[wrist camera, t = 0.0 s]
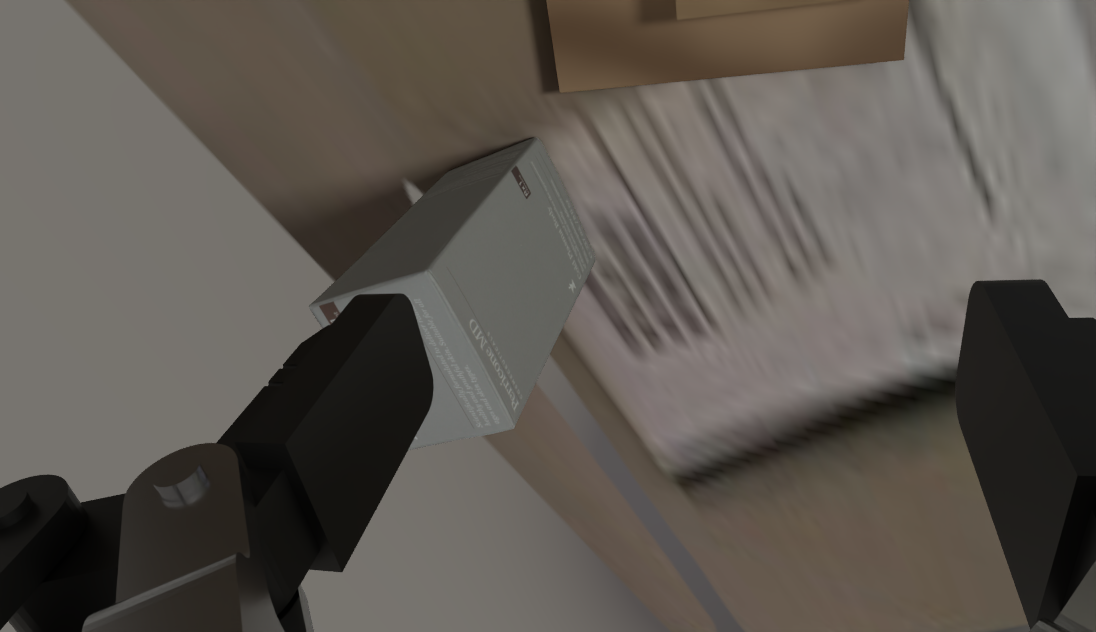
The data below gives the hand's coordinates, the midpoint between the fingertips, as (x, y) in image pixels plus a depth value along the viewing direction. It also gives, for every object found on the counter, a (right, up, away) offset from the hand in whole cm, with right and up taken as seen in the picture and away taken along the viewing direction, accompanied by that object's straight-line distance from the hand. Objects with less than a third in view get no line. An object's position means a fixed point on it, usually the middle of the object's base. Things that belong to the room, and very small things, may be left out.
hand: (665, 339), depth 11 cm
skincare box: (-4, +6, +33) cm, 34 cm away
